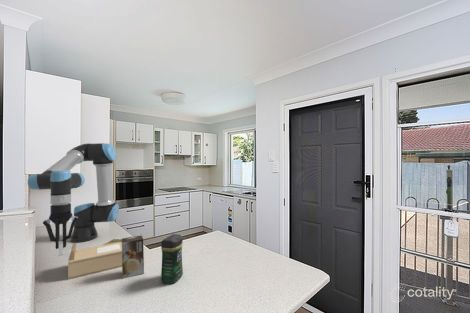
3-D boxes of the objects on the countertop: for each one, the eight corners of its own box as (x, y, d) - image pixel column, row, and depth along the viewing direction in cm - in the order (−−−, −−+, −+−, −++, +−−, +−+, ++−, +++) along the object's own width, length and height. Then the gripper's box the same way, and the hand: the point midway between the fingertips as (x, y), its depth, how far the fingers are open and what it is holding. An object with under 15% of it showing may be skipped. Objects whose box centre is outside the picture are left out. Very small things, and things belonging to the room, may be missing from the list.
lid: (71, 252, 111) (71, 242, 111) (128, 241, 124) (128, 233, 125) (68, 263, 98) (68, 252, 98) (132, 250, 112) (132, 240, 112)
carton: (94, 256, 123) (94, 248, 123) (113, 245, 139) (113, 238, 139) (108, 256, 122) (108, 248, 122) (125, 245, 138) (125, 238, 138)
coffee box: (142, 268, 108) (142, 234, 109) (144, 273, 103) (144, 238, 103) (121, 272, 104) (121, 238, 104) (121, 279, 98) (121, 242, 99)
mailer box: (71, 267, 110) (71, 252, 110) (128, 254, 124) (128, 241, 124) (68, 279, 98) (68, 263, 99) (132, 264, 112) (132, 250, 112)
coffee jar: (175, 285, 92) (174, 240, 93) (158, 283, 94) (157, 239, 95) (185, 274, 102) (185, 233, 102) (170, 272, 104) (169, 232, 104)
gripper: (40, 206, 97) (40, 261, 96) (77, 203, 104) (77, 254, 103) (44, 204, 103) (44, 255, 103) (78, 201, 110) (78, 249, 109)
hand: (61, 254), depth 103 cm, fingers closed
